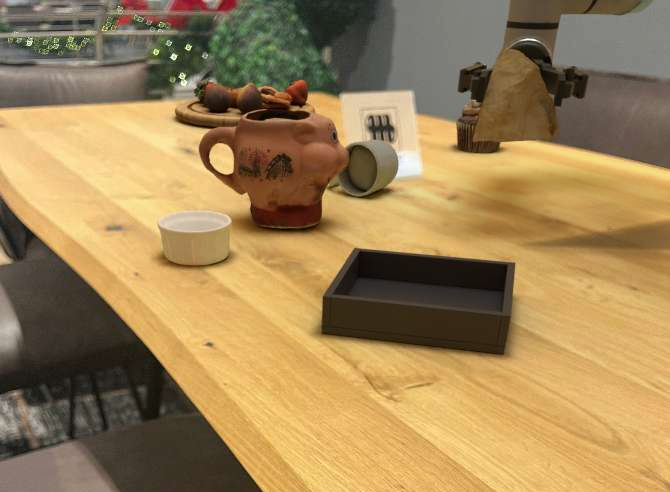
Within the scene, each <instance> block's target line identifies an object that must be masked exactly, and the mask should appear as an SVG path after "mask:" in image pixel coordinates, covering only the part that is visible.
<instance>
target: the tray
mask: <svg viewBox="0 0 670 492" xmlns="http://www.w3.org/2000/svg"><path fill="white" fill-rule="evenodd" d="M515 274H516V262H513V261H501V260H492V259H481V258H480V259H479V258H469V257H457V256H447V255H436V254H426V253H425V254H424V253H416V252H415V253H414V252H404V251H392V250H383V249H382V250H381V249H373V248H371V249H370V248H360V247H354V248H353V249H352V251H351V252H350V254H349V255H348V257H347V259H346V260H345V261H344V263H343V264H342V266H341V268H340V269H339V271H338V272H337V274H336V275H335V277H334V278H333V280H332V281H331V283H330V284H329V286H328V287H327V288H326V290H325V292H324V294H323V295H322V301H321V302H322V303H321V305H322V307H321V334H324V335H325V334H326V335H334V336H335V335H336V336H342V337H343V336H344V337H351V338H361V339H367V340H378V341H385V342H386V341H387V342H393V343H394V342H395V343H405V344H412V345H420V346H429V347H439V348H447V349H453V350H454V349H455V350H465V351H472V352H480V353H481V352H482V353H489V354H498V355H504V354H505V351H506V346H507V339H508V336H509V335H508V334H509V329H510V323H511V318H512V309H513V308H512V307H513V299H514V286H515Z"/></svg>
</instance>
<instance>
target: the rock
mask: <svg viewBox="0 0 670 492" xmlns="http://www.w3.org/2000/svg"><path fill="white" fill-rule="evenodd" d="M493 67H494V69H493V72H492V74H491V76H490V80H489V84H488V87H487V89H486V93H485V97H484V100H483V103H482V104H481V106H480V109H479V113H478V117H477V121H476V125H475V130H474V135H473V142H479V141H493V142H501V143H510V142H511V143H513V142H528V141H529V142H530V141H537V140H550V139H558V138H559V127H560V126H559V123H558V118H557V111H556V109H557V108H556V106H554V98H553V97H552V95H551V94H549V93H548V90H547V89H546V86H545V83H544V81H543V79H542V77H541V74H540V71H539V67H538V66H537V65H536V64H534V63H533V62H532V61H531V60H530V59H529V58H527V57H525V55H524V54H523V53H521V52H520V51H518V50H512V49H509V50H506V49H503V48H501V49H500V51H499V53H498V56H497V59H496V61H495V63H494V65H493Z"/></svg>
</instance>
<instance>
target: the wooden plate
mask: <svg viewBox="0 0 670 492" xmlns="http://www.w3.org/2000/svg"><path fill="white" fill-rule="evenodd" d="M210 80H211V78H207V79H205V80H203V81H200V82H198V81H197V82H196V83H195V87H196V88H194V90H193V93H192V94H194V97H196V99H191V100H186V101H183V102H181V103H179V104H177V105H176V106H175V109H174V114H175V116H176V117H177V118H178V119H179V120H180V121H183V122H185V123H189V124H193V125H197V126H198V125H199V126H204V127H205V126H206V127H215V128H217V127H236V126H237V125H238V124H239V121H240V118H241V116H242V115H244V114H246V113H249V112H252V111H256V110H263V109H275V110H293V111H310V112H313V113H316V109H315V107H314V105H312V104H310V103H308V102H307V101H308V98H309V91H308V90H309V89H308V88H309V87H308V84H307V82H306V81H305V80H303V79H297V80H295V81H291V83H289V84H288V86H287V87H285V88H284V89H283V91H281V92H279V91H278V90H276V89H275V88H274V87H272V86H269V85H264V86H261V87H257V86H256V85H255V83H254V82H249V83H248V84H246V85H244V86H243V87H236V88H235V87H234V88H233V87H229V86H223V85H221V84H220V83H218V82H215V81H210Z"/></svg>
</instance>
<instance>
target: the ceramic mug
mask: <svg viewBox="0 0 670 492" xmlns="http://www.w3.org/2000/svg"><path fill="white" fill-rule="evenodd" d="M344 147H345V148H346V149H347V150H348V152H349V162H348V165H347V166H346V168H345V169H344V170H343V171H342V172H340V173H339V174H338V175H337V176H335V177H334V178H333V179H332V180H331V181H330V182H329V184H328V186H329V187H335V186H338V185H339V186H340V188H341V189H342V190H343V191H344V192H345V193H346V194H348V195H349V196H352V197H357V198H358V197H365V196H367V195H370V194H372V193H374V192H377V191H379V190H382V189H384V188H386V187H388V186H389V185H390V184H391V183H392V182H393V181H394V179H395V178H396V177H397V174H398V171H399V167H400V164H399V157H398V154H397V152H396V149H395V148H394V147H393V146H392V145H391V143H389V142H387V141H385V140H381V139H370V140H363V141H362V140H361V141H354V142H351V143H348V144H347V145H346V146H344Z"/></svg>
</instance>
